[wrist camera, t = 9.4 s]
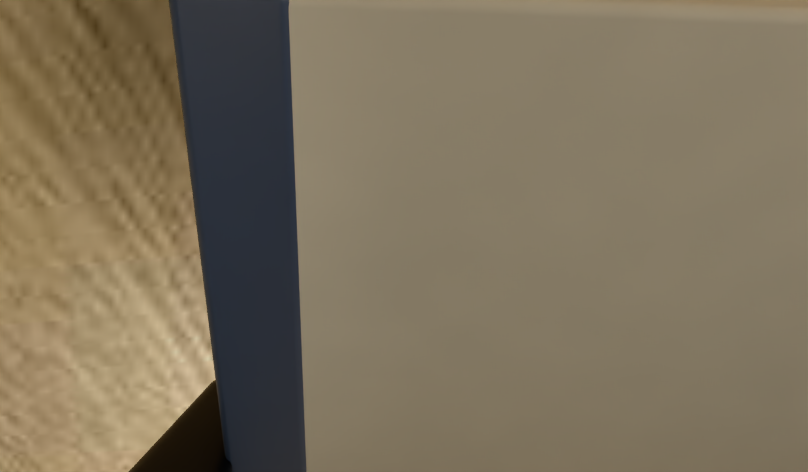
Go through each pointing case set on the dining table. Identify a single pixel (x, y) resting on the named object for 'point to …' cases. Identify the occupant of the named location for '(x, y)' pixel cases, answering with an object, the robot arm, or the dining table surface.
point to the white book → (502, 232)
